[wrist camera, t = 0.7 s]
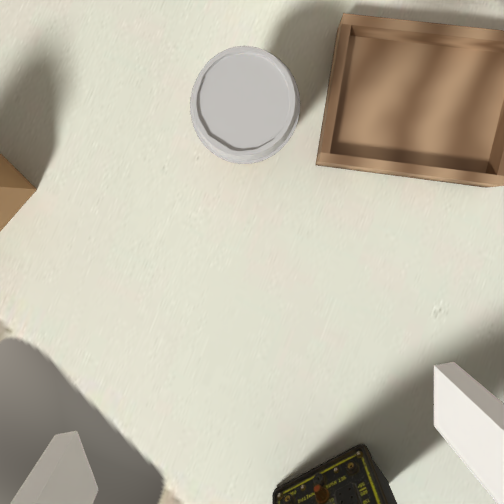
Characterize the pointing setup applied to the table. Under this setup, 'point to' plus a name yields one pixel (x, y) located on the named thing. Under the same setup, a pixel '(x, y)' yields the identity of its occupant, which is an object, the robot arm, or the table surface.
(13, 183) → the model church
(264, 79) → the disposable coffee cup
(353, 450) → the voltmeter
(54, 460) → the robot arm
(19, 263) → the table surface
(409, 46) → the trough tray
